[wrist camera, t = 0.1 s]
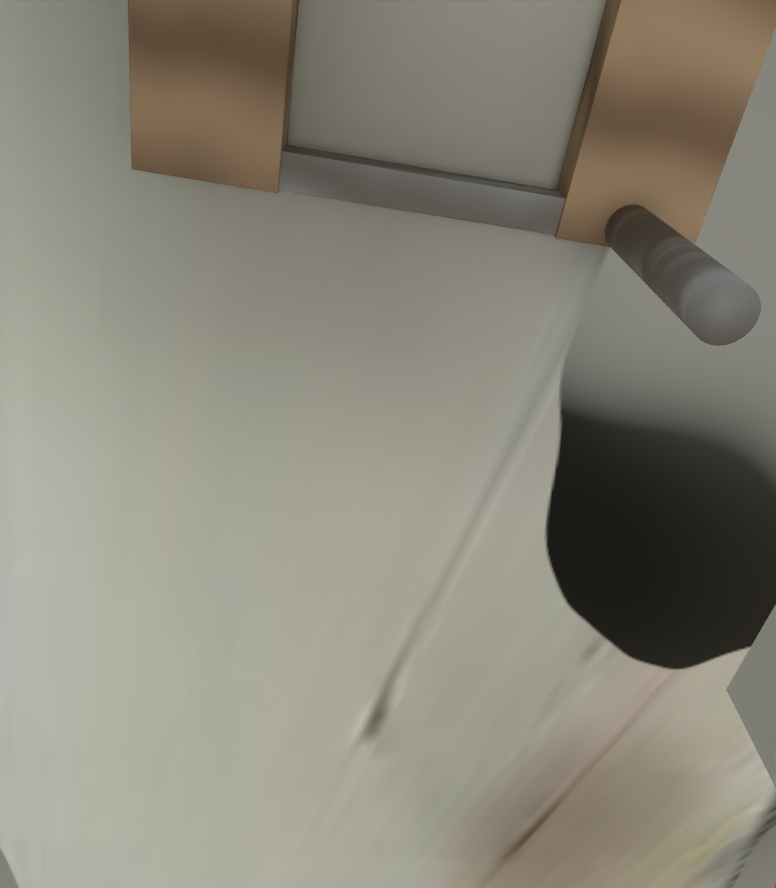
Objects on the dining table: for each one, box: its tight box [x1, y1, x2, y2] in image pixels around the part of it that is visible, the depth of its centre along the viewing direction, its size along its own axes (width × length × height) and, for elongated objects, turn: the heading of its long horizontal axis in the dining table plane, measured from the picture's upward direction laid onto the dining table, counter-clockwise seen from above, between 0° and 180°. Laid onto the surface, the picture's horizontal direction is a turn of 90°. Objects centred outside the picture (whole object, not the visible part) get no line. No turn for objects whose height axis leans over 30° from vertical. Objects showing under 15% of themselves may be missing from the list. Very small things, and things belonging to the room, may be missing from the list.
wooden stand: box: [128, 0, 776, 345], centre depth 28 cm, size 13×28×14 cm, turn 81°
